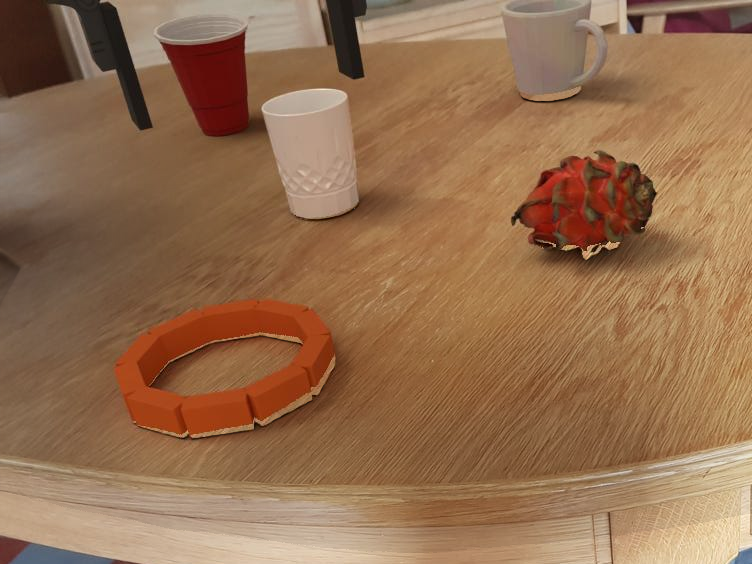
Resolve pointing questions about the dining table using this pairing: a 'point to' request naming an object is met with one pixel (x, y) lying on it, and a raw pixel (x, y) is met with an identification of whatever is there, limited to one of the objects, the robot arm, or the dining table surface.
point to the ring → (229, 405)
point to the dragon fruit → (587, 203)
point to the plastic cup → (210, 68)
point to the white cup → (314, 150)
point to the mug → (551, 44)
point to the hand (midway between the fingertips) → (250, 99)
